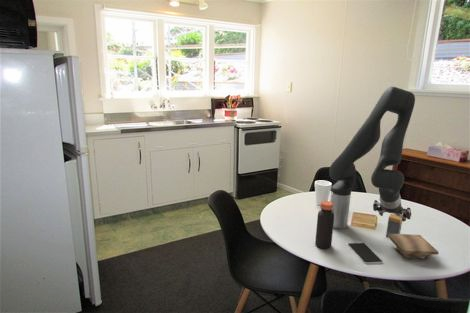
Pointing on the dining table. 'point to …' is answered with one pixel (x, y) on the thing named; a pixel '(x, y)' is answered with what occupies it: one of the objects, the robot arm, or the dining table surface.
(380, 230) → the dining table surface
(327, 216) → the bottle
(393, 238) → the stand
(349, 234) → the dining table surface
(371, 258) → the smartphone
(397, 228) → the block
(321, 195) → the foam cup
